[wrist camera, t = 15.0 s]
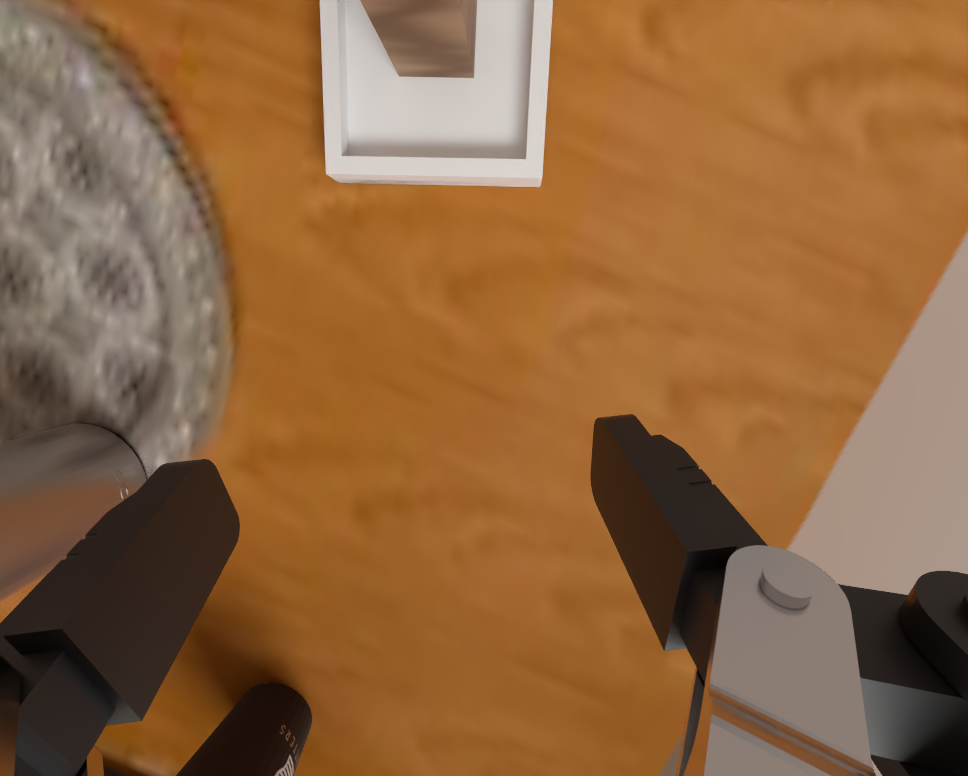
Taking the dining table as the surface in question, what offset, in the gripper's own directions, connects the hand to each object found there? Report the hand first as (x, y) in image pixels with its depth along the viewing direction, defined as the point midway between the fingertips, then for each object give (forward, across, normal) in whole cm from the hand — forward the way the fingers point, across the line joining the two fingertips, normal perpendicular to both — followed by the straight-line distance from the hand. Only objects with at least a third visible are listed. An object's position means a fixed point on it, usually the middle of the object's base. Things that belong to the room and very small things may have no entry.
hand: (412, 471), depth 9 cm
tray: (+25, -2, -12) cm, 28 cm away
